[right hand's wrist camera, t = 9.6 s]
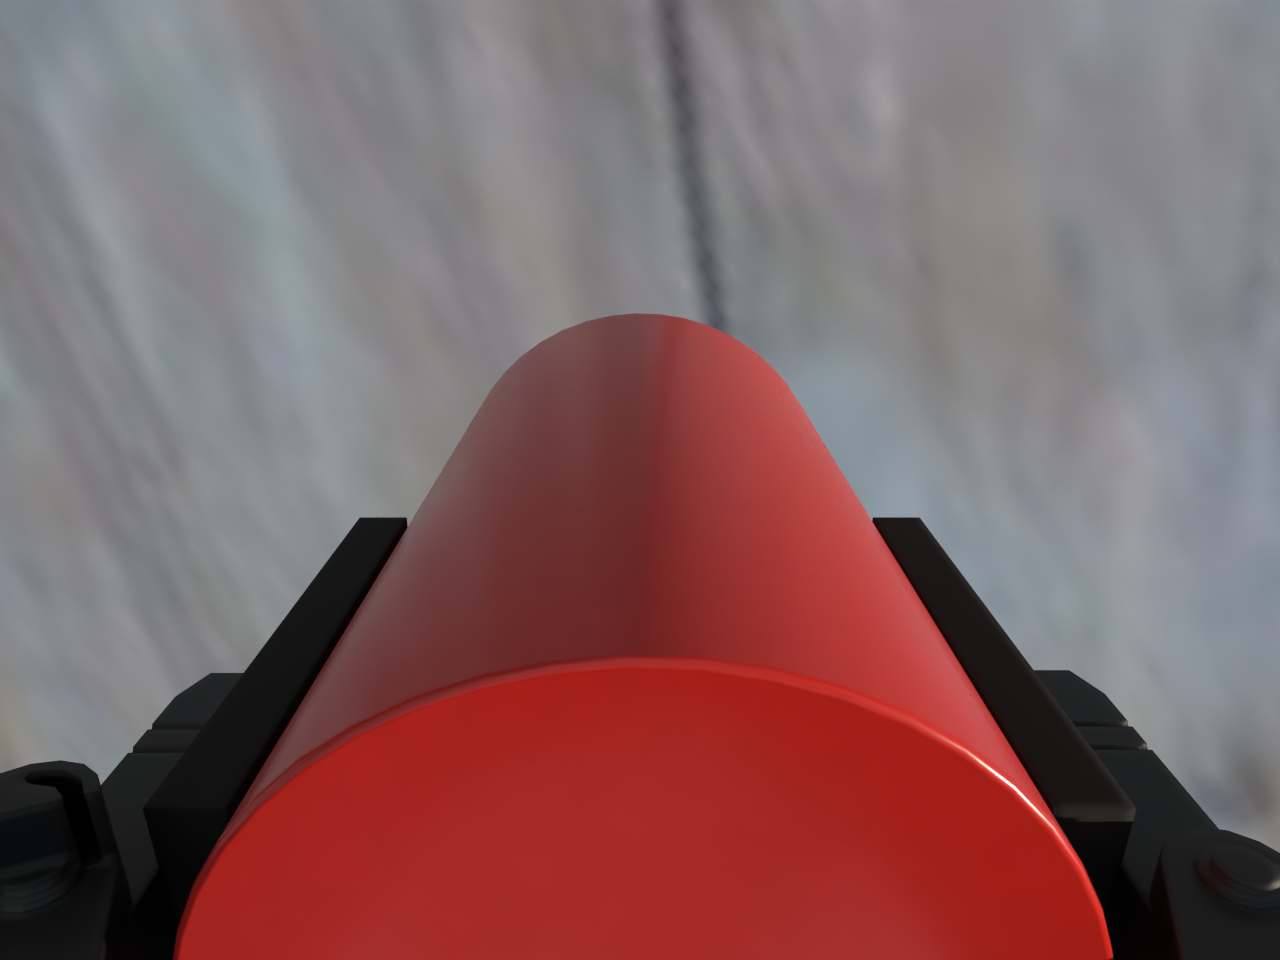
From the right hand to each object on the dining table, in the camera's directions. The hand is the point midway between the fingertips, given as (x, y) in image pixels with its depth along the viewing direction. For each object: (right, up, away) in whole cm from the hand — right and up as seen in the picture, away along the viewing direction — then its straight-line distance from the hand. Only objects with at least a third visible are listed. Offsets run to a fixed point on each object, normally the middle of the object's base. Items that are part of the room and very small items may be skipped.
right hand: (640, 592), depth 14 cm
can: (0, +2, +4) cm, 4 cm away
